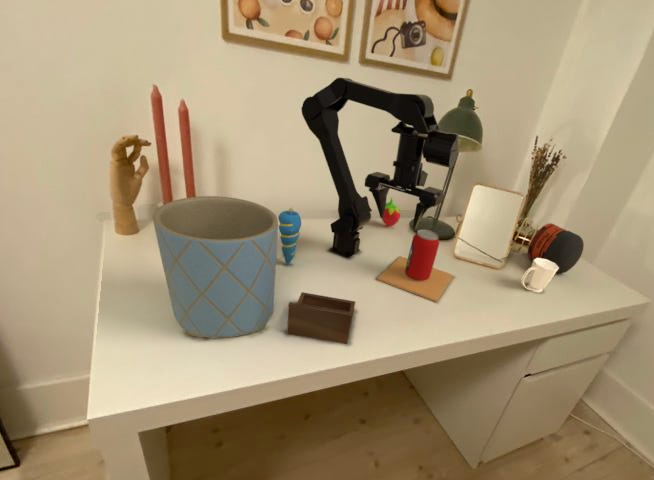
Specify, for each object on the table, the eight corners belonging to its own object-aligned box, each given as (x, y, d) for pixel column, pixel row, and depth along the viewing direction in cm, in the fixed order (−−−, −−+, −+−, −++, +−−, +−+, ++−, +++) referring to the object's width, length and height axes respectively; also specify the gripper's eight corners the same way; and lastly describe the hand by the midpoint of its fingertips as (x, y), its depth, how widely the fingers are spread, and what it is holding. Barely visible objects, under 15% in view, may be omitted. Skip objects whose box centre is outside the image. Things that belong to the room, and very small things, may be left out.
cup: (552, 294, 106) (564, 269, 102) (526, 297, 102) (538, 271, 97) (534, 281, 111) (546, 257, 107) (509, 283, 107) (520, 258, 102)
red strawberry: (385, 231, 121) (391, 201, 116) (374, 222, 126) (379, 193, 121) (400, 231, 124) (406, 201, 119) (389, 222, 129) (395, 193, 124)
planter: (173, 289, 77) (158, 193, 66) (269, 285, 84) (270, 198, 73) (167, 349, 63) (145, 240, 52) (283, 339, 70) (286, 241, 59)
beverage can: (414, 267, 103) (424, 226, 97) (434, 278, 100) (446, 236, 93) (399, 273, 99) (409, 231, 92) (419, 285, 96) (431, 242, 89)
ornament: (273, 264, 92) (274, 205, 84) (285, 257, 96) (287, 200, 88) (291, 271, 91) (293, 212, 83) (302, 263, 95) (306, 206, 87)
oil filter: (544, 257, 129) (561, 221, 121) (575, 274, 121) (595, 237, 114) (521, 261, 122) (537, 224, 114) (552, 280, 114) (572, 241, 107)
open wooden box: (301, 301, 81) (302, 273, 78) (353, 310, 82) (358, 283, 78) (287, 334, 72) (288, 304, 68) (347, 344, 73) (351, 315, 69)
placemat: (377, 279, 95) (377, 277, 95) (400, 258, 108) (400, 256, 108) (436, 302, 91) (436, 300, 91) (452, 276, 104) (453, 274, 104)
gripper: (458, 162, 88) (443, 225, 97) (389, 145, 95) (381, 205, 103) (441, 169, 80) (426, 237, 88) (367, 149, 86) (360, 215, 95)
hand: (398, 222), depth 94 cm, fingers open, 9 cm apart
